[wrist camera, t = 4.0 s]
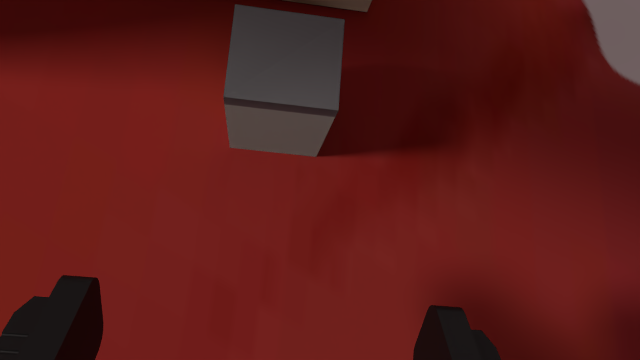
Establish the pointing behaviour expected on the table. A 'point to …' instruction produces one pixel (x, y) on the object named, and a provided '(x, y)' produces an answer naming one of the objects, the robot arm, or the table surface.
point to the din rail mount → (339, 4)
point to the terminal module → (282, 80)
